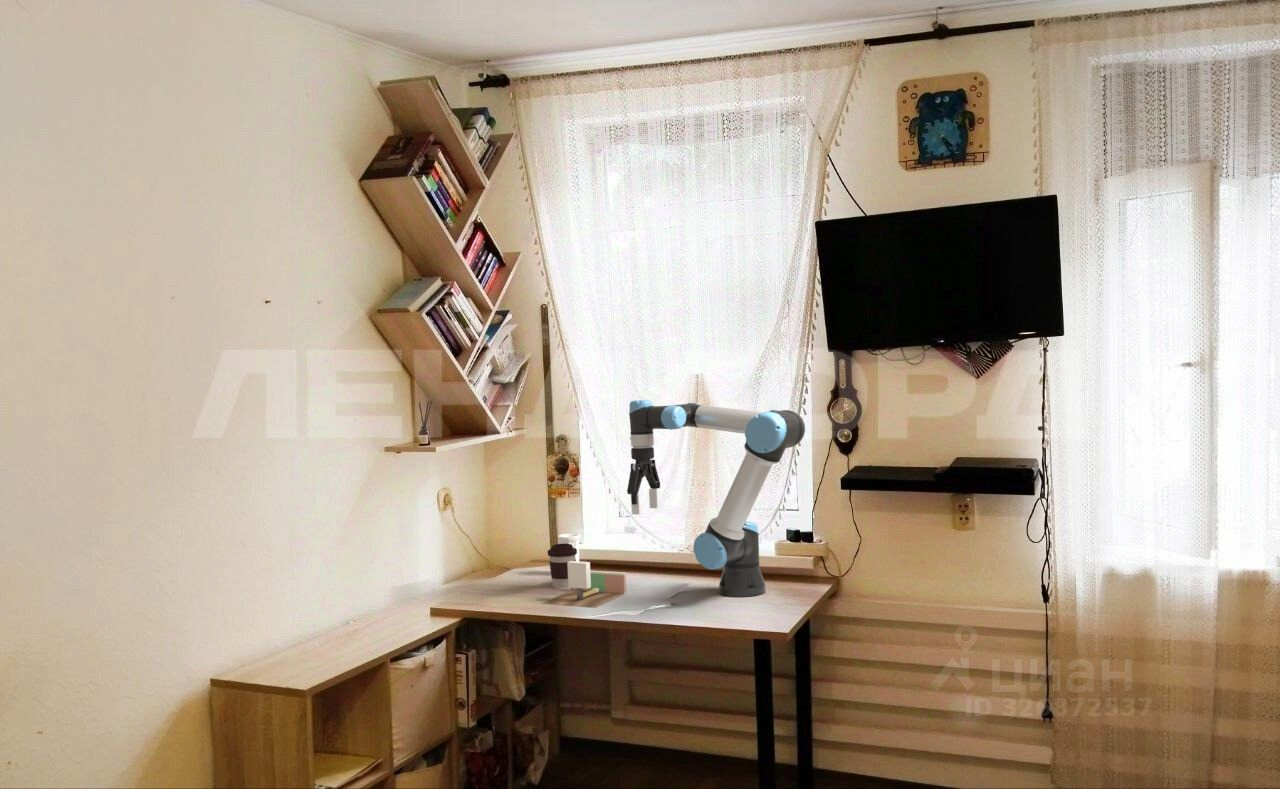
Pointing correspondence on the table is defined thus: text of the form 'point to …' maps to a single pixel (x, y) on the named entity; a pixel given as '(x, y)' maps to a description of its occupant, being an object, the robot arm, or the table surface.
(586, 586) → the white block with rod
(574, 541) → the cup
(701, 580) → the table surface
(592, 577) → the scale wall
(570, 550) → the coffee cup
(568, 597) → the board
